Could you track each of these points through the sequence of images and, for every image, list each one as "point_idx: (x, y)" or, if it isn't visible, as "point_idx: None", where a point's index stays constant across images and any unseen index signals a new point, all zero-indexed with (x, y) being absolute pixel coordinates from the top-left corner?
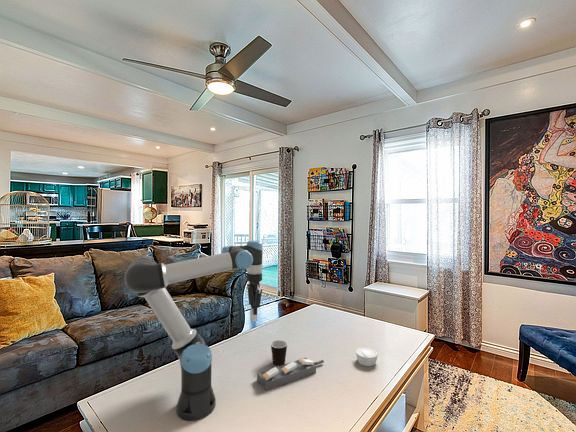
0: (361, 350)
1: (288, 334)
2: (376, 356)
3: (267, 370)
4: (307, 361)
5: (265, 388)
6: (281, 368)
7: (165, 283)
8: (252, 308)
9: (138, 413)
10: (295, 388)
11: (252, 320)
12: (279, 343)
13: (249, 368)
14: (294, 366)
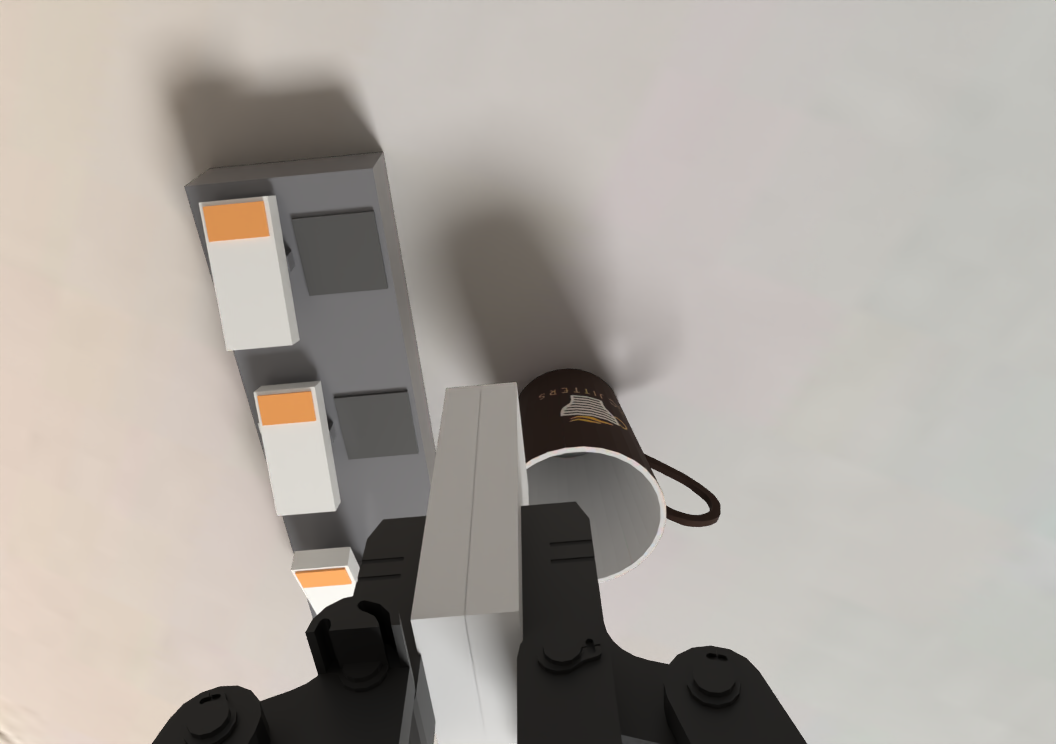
0: None
1: (948, 644)
2: None
3: (375, 273)
4: (318, 597)
5: (205, 172)
6: (311, 388)
7: None
8: (333, 619)
9: None
10: (181, 388)
11: (444, 405)
12: (640, 528)
13: (602, 152)
14: (273, 488)
